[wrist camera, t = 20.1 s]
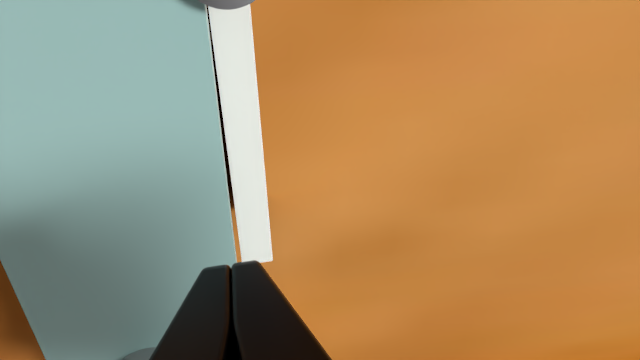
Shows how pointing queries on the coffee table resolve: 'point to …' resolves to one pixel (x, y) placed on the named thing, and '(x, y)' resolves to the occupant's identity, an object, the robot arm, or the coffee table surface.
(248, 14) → the channel
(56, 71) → the cover
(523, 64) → the coffee table surface
